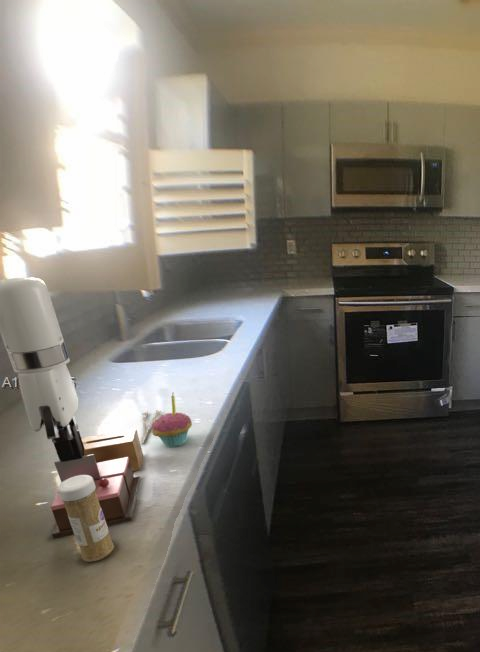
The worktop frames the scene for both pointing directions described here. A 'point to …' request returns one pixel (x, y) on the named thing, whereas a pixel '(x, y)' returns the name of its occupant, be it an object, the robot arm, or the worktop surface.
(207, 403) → the worktop surface
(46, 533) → the worktop surface
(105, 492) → the pink double-door cabinet
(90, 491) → the sprinkles bottle
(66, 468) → the knife
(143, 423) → the tweezers
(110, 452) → the knife block
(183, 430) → the cupcake
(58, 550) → the worktop surface
